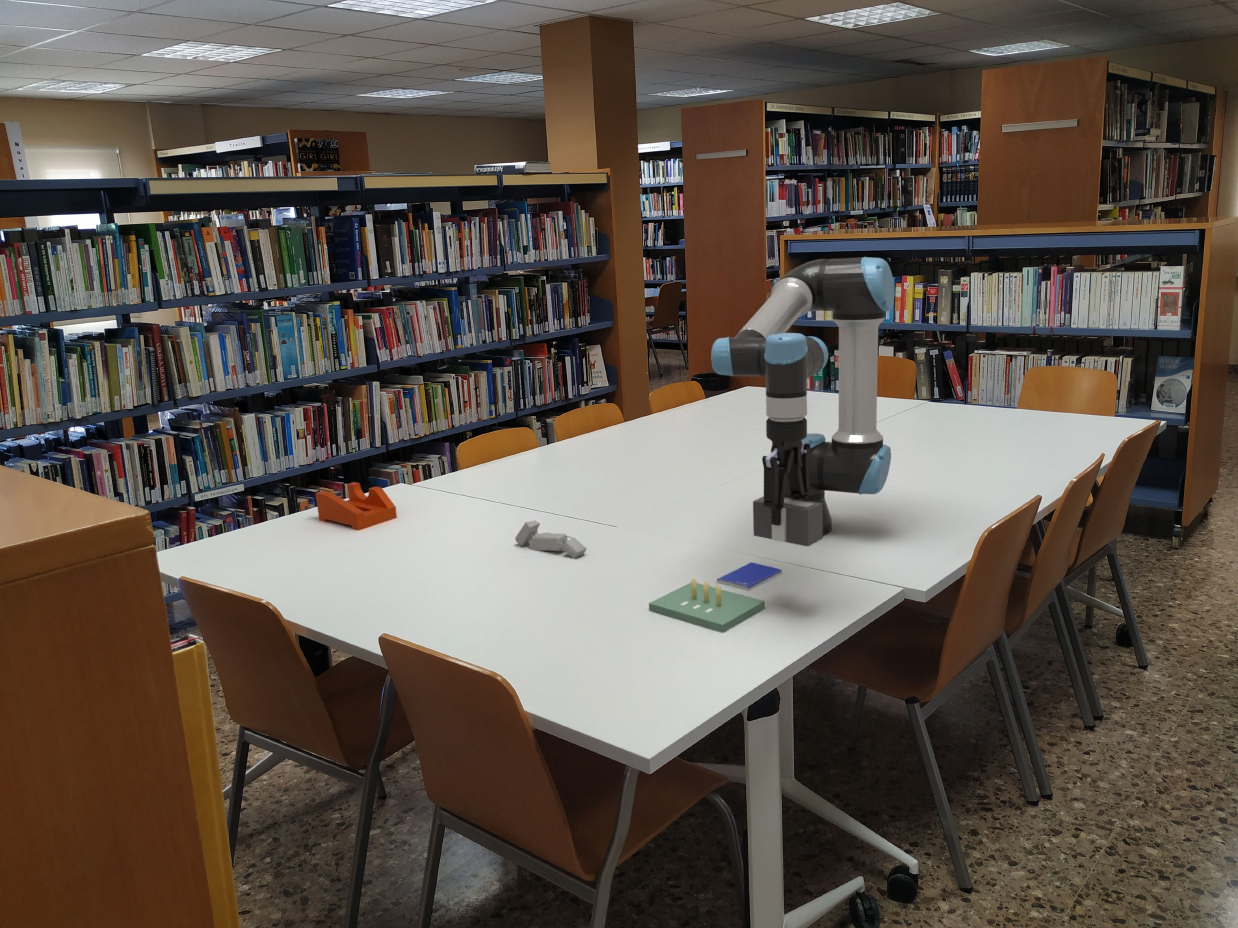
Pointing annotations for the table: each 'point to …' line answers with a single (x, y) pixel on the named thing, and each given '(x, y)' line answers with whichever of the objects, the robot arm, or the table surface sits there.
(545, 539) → the grey jointed block chain
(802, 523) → the socket block
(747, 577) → the hard drive
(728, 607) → the header board
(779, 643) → the table surface
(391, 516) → the orange cradle stand
